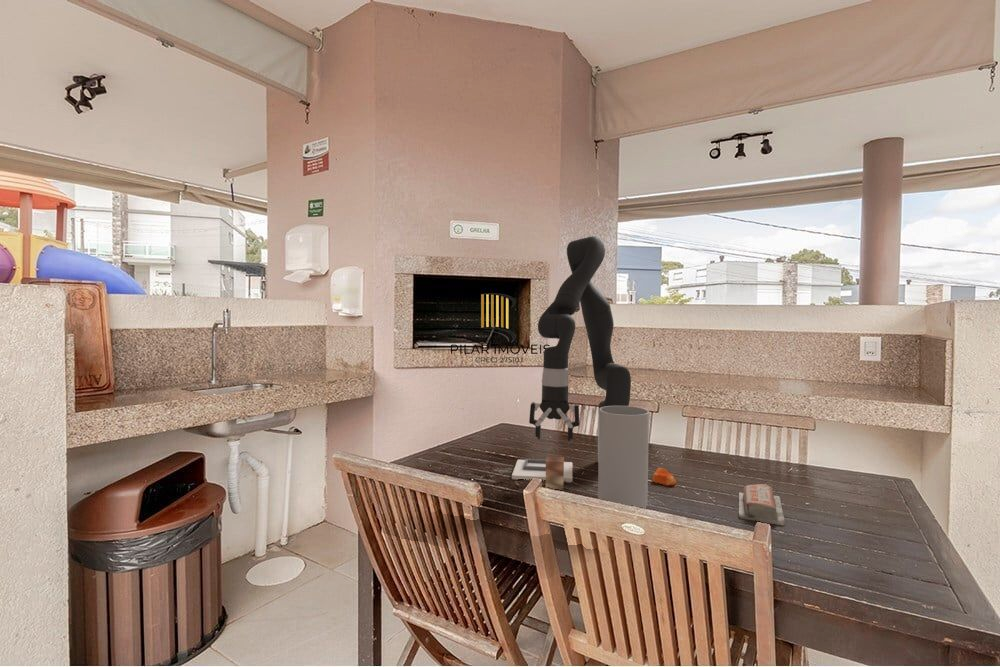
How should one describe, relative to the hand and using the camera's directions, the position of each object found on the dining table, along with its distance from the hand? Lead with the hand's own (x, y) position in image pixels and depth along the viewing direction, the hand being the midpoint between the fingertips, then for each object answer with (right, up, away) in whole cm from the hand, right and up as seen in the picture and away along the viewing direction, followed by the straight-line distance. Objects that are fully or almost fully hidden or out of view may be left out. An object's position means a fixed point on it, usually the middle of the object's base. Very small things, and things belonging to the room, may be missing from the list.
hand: (553, 439), depth 143 cm
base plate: (-2, -13, +13) cm, 18 cm away
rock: (+33, -15, +4) cm, 36 cm away
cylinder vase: (+16, -15, -13) cm, 26 cm away
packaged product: (+52, -15, -15) cm, 56 cm away
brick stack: (0, -14, 0) cm, 14 cm away
